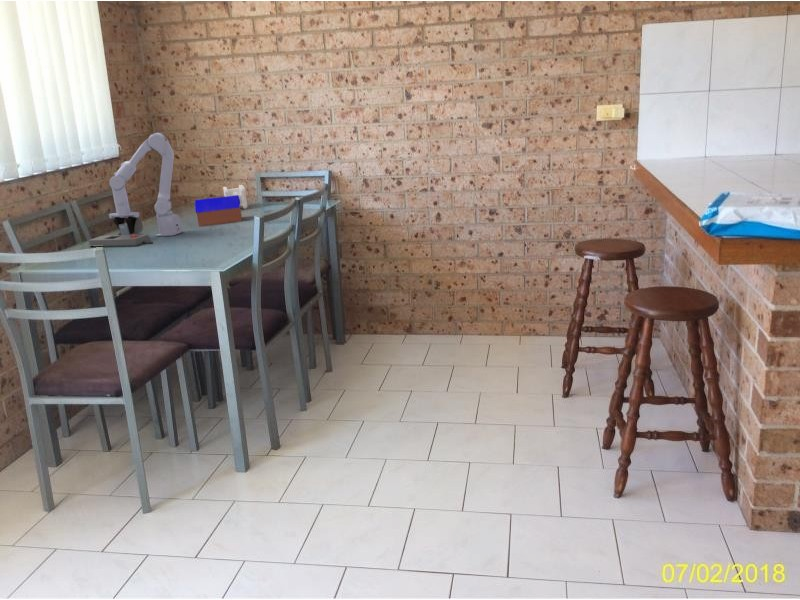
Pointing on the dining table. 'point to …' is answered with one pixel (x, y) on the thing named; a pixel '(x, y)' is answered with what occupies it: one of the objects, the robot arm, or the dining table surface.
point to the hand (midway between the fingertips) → (127, 233)
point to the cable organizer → (239, 192)
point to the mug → (137, 227)
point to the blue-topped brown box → (218, 210)
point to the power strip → (121, 240)
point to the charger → (124, 229)
